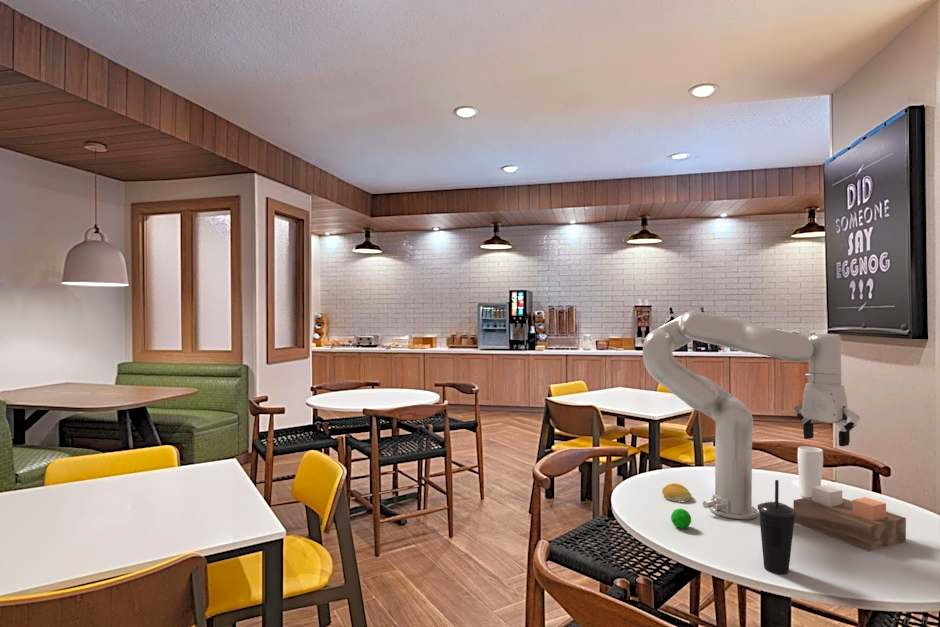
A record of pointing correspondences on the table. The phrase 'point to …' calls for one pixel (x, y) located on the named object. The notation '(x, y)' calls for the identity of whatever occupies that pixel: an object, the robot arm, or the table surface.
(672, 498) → the bread roll
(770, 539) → the drinking cup
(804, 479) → the drinking glass
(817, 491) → the white plug
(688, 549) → the table surface
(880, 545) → the walnut block
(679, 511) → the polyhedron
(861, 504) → the terracotta plug
